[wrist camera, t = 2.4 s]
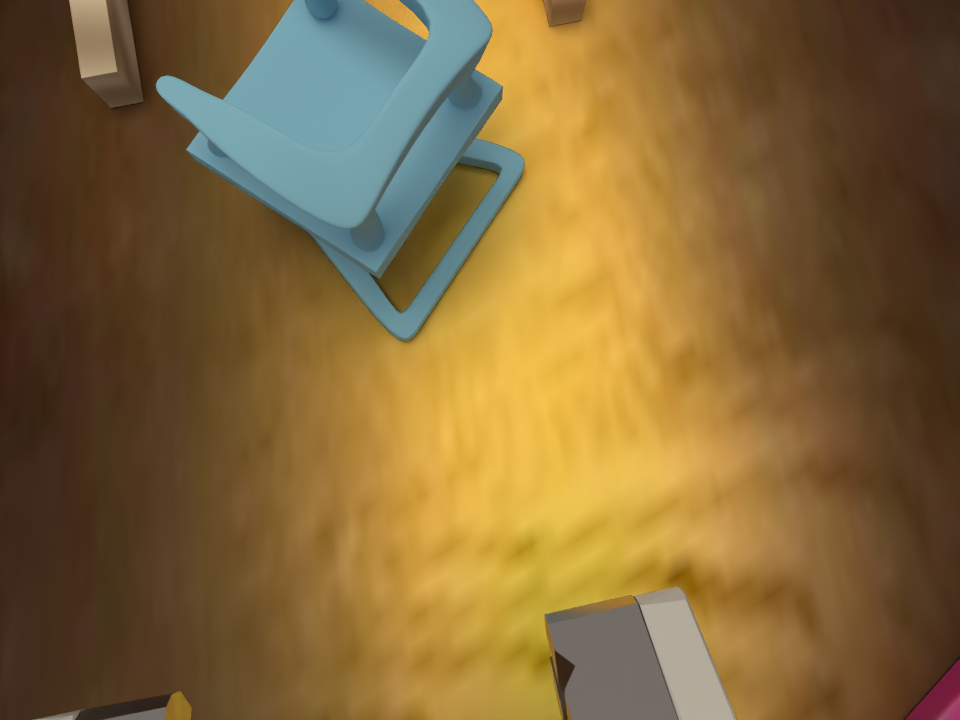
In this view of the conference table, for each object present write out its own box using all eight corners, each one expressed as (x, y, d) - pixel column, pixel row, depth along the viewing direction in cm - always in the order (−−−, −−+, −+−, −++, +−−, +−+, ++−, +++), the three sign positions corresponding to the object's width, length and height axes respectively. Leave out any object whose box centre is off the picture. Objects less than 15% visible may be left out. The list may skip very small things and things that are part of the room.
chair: (337, 49, 33) (260, -187, 22) (528, 169, 33) (556, -7, 21) (216, 221, 33) (65, 73, 21) (409, 346, 32) (368, 269, 20)
